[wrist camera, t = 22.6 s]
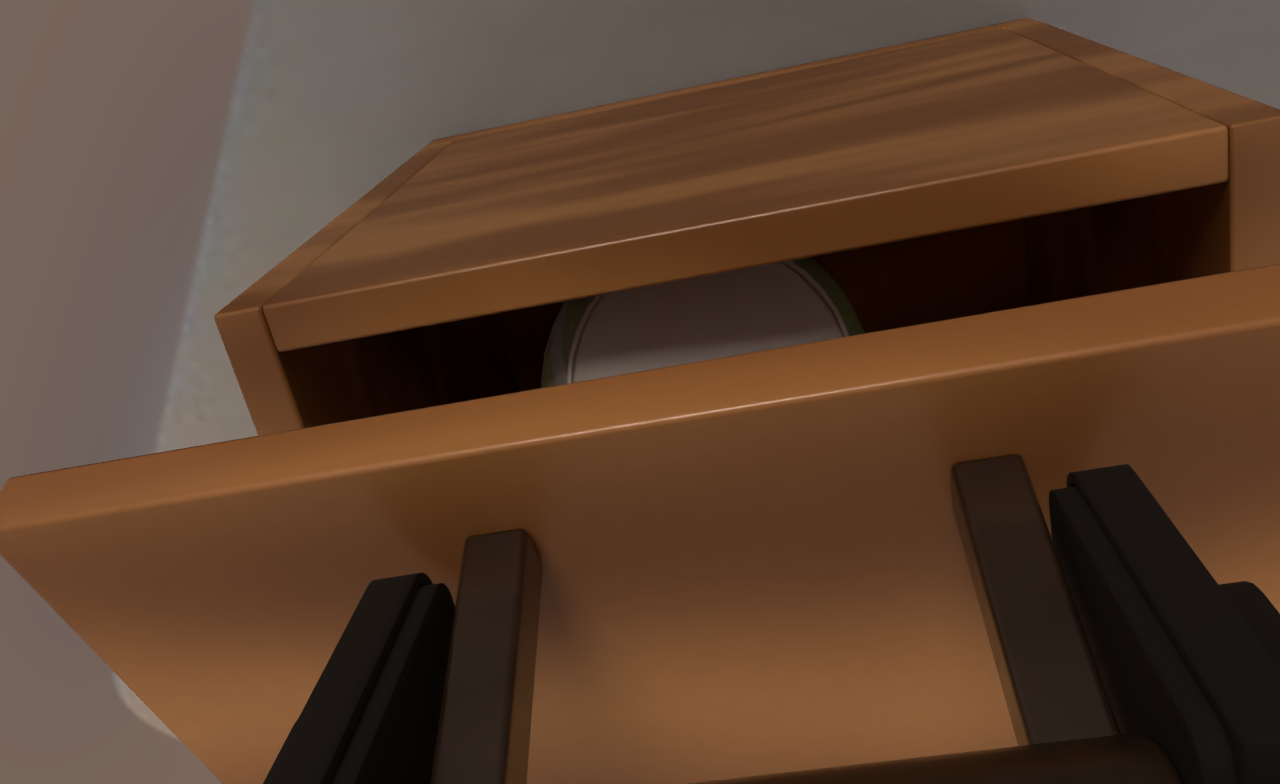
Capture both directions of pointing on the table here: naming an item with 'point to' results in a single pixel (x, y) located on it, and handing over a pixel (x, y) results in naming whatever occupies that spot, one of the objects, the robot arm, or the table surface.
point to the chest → (767, 212)
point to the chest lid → (700, 551)
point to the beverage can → (697, 321)
